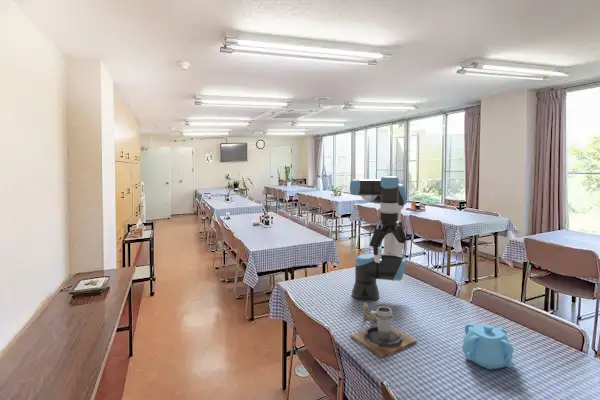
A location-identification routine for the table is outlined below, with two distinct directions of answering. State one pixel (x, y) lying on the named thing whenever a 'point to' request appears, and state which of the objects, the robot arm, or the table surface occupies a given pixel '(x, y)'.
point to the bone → (372, 313)
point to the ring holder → (383, 341)
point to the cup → (384, 322)
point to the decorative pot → (487, 346)
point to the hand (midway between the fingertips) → (388, 259)
